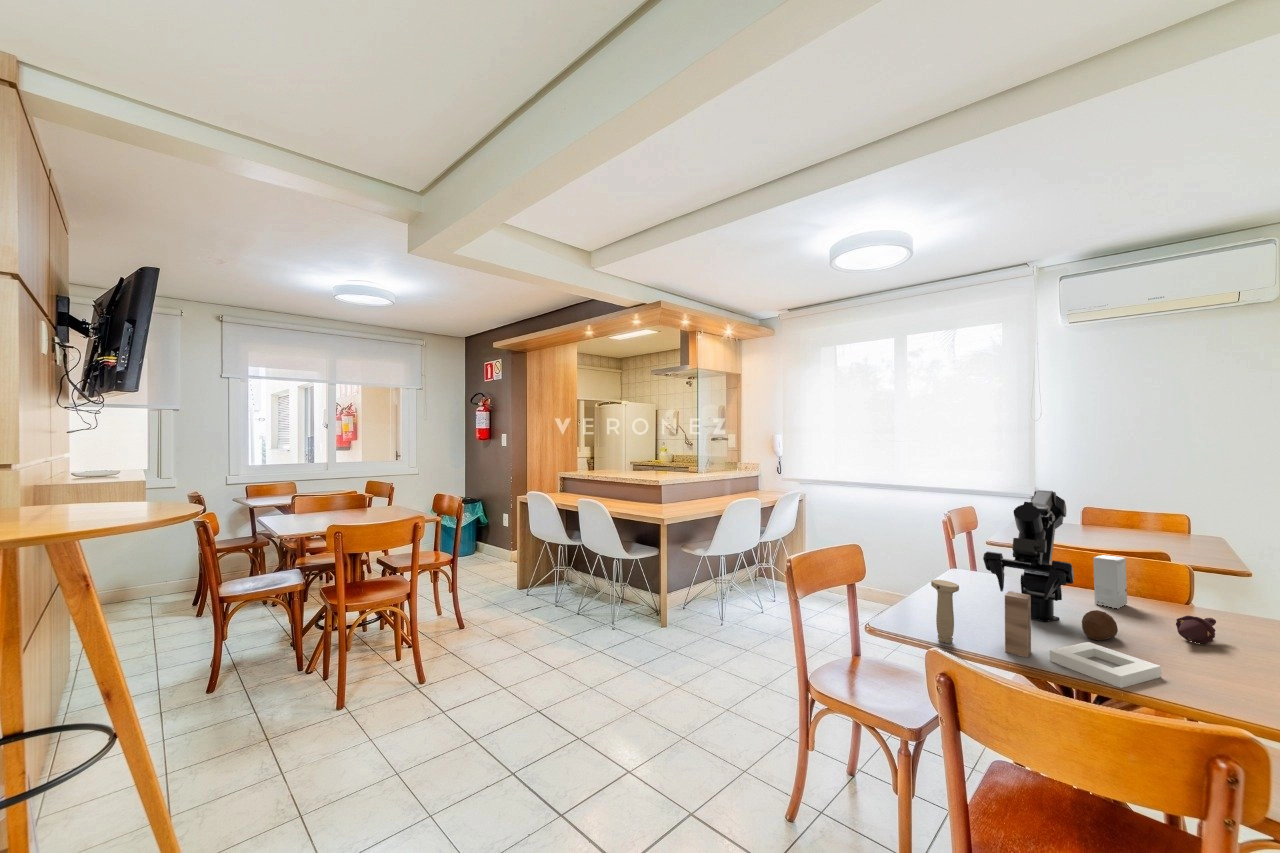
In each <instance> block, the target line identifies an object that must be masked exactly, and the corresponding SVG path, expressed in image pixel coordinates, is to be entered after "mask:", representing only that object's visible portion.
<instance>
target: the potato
mask: <svg viewBox="0 0 1280 853" xmlns="http://www.w3.org/2000/svg"><path fill="white" fill-rule="evenodd" d="M1081 628H1082V631H1083V633H1084V635H1085V636H1086V637H1087V638H1089V639H1091V640H1093V641H1103V640H1104V641H1105V640H1107V639H1112V638H1115V637H1116V636H1117V634H1118V632H1119V630H1118V625H1117V622H1116V620H1115V619H1114V617H1113V616H1111V615H1110V614H1109V613H1107V612H1105V611H1103V610H1098V609H1096V610H1094V609H1093V610H1089V611H1088V612H1086V613H1085V614H1084V615H1083V616H1082V619H1081Z"/></svg>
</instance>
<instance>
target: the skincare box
mask: <svg viewBox="0 0 1280 853" xmlns="http://www.w3.org/2000/svg"><path fill="white" fill-rule="evenodd" d="M1126 563H1127V562H1126V557H1123V556H1122V557H1121V556H1114V555H1107V554H1101V555H1097V556H1094V557H1093V584H1094V585H1093V587H1094V588H1093V589H1094V595H1093V596H1094V604H1095V605H1097V604H1098V606H1102V605H1104V606H1103V607H1106V606H1108V607H1107V608H1109V607H1112V608H1111V609H1114V608H1117V609H1116V610H1119V609H1120V607H1121V608H1123V607H1125V606H1127V605H1128V590H1127V588H1128V587H1127V584H1128V583H1127V569H1126V568H1127V564H1126ZM1126 604H1127V605H1126ZM1124 605H1125V606H1124ZM1122 606H1123V607H1122Z"/></svg>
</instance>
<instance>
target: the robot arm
mask: <svg viewBox="0 0 1280 853" xmlns="http://www.w3.org/2000/svg"><path fill="white" fill-rule="evenodd" d="M1030 499H1031V500H1030V501H1024V502H1023V504H1020V505H1018V506H1017V507H1015V509H1013V516H1014V521H1015V525H1016V529H1017V531H1018V535H1017V536H1018V537H1013V538H1012V547H1011V548H1012V557H1013V558H1014V559H1009V558H1004V556H1003V553H1001V552H993V551H986V552H984V553H983V558H982V560H983V562H984V566H985V569H986V570H987V571H990V573H992V574H994V575H996V579H997V581H998V586H999V587H998V588H999V590H1000V592H1003V591H1004V587H1005V567H1006V568H1007V567H1008V568H1012V569H1020V570H1024V571H1023V573H1021V574H1020V590H1021V592H1020V593H1022V594H1028V595H1031V619H1034V620H1037V621H1039V622H1043V623H1048V622H1053V621H1058V620H1060V617H1059V616H1056V615H1054V614H1055V612H1054V610H1055V608H1054V606H1055V605H1054V602H1055V601H1056V602H1058V601H1062V600H1063V594H1062V592H1063V591H1062V586H1067V584H1069V585H1071V584H1074V578H1075V574H1074V568H1073V564H1072V563H1070V562H1067V561H1061V560H1052V558H1053V552H1054V551H1053V550H1054V545H1055V544H1054V541H1055V535H1056V529H1058V528H1059V527H1060V526H1062V525H1063V522H1064V518H1066V517H1067V504H1066V501H1065V500H1064V499H1063V498H1061V497H1059V496H1058V495H1057V492H1056V491H1053V490H1043V489H1042V490H1041V489H1037V490H1034V495H1033V496H1032V497H1031V498H1030Z"/></svg>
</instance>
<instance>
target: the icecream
mask: <svg viewBox="0 0 1280 853" xmlns="http://www.w3.org/2000/svg"><path fill="white" fill-rule="evenodd" d="M1216 624H1217V620H1216V619H1214V618H1212V617H1205V618H1202V617H1199V616H1194V615H1193V616H1192V615H1184V616H1180V617H1179V618H1176V622H1175V627H1176V629H1177V632H1178V634H1179V636H1181V637H1182V638H1184V639H1185V640H1186V641H1187V640H1188V641H1192V642H1196V643H1200V644H1204V645H1207V644H1209V643H1211V642H1213V641H1214V639H1215V638H1216V629H1215V627H1213V626H1215V625H1216ZM1188 641H1187V642H1188ZM1204 645H1203V646H1204Z"/></svg>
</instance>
